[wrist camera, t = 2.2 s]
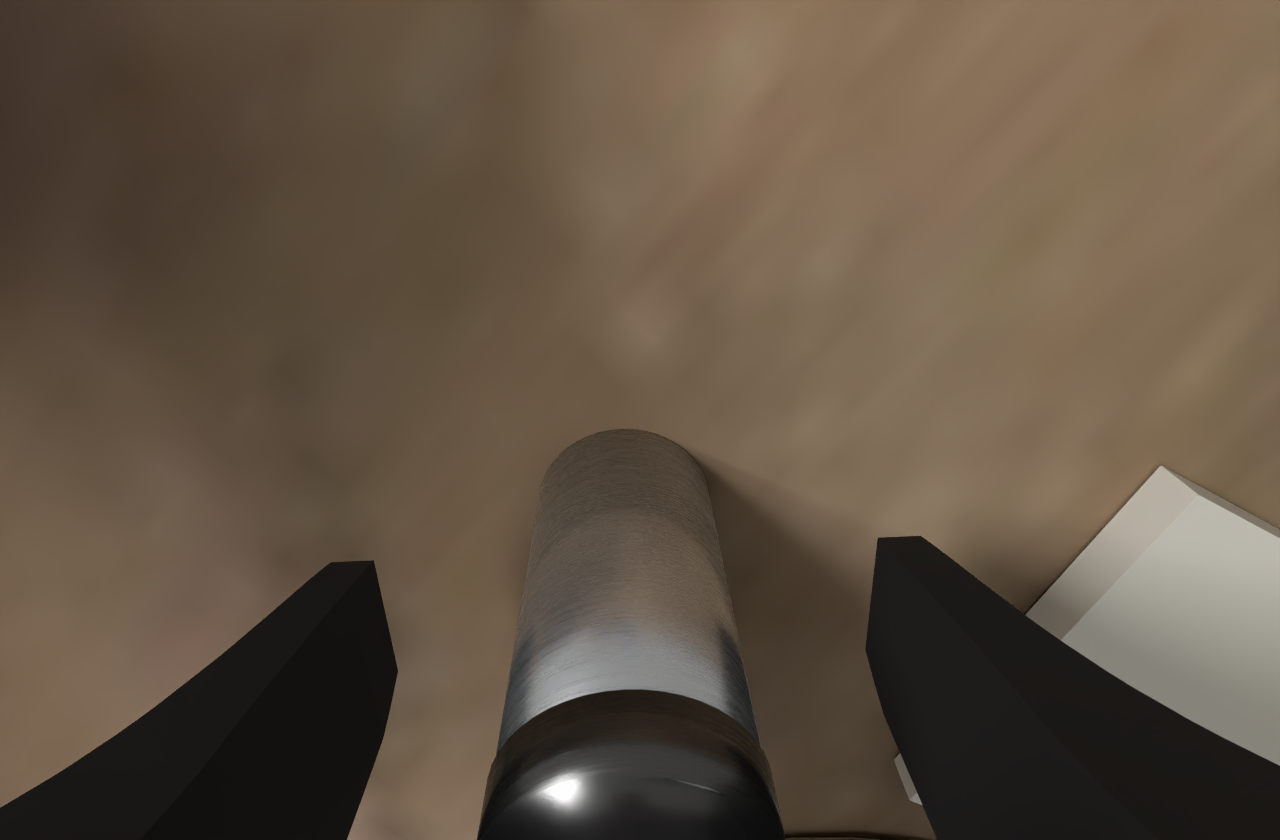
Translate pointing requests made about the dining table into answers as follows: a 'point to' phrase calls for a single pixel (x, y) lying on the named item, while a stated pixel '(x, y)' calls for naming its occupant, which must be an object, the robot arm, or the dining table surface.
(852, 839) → the collar wheel
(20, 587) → the dining table surface
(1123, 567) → the rest
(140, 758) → the robot arm
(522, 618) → the shiny metal cylinder
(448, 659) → the dining table surface
